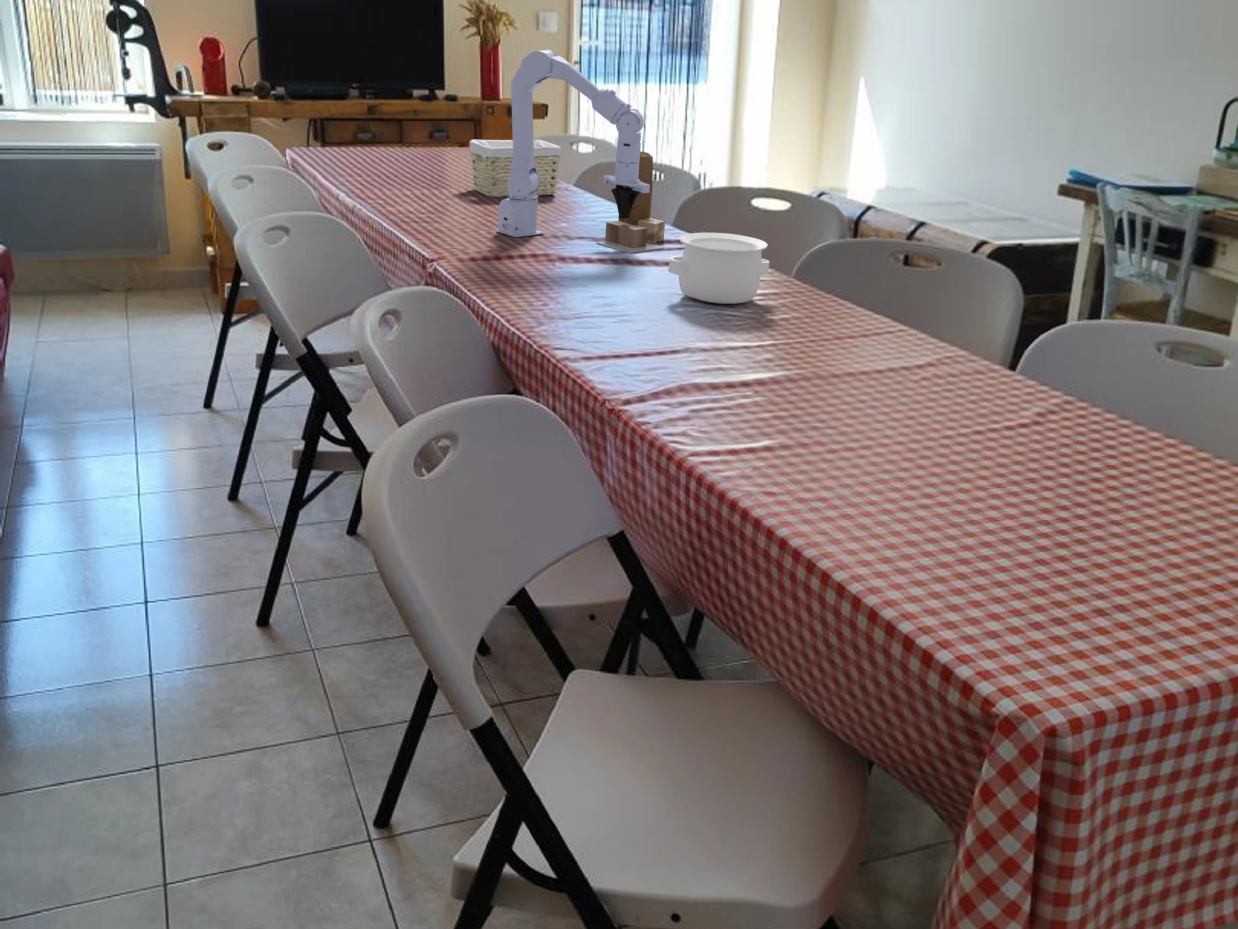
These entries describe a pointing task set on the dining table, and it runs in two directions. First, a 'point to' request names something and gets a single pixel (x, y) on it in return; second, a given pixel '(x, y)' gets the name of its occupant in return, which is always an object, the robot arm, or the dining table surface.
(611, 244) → the mat
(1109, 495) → the dining table surface
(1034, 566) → the dining table surface
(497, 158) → the storage basket
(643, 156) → the block
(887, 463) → the dining table surface
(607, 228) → the walnut pillar
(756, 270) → the pot
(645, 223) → the oak cube
